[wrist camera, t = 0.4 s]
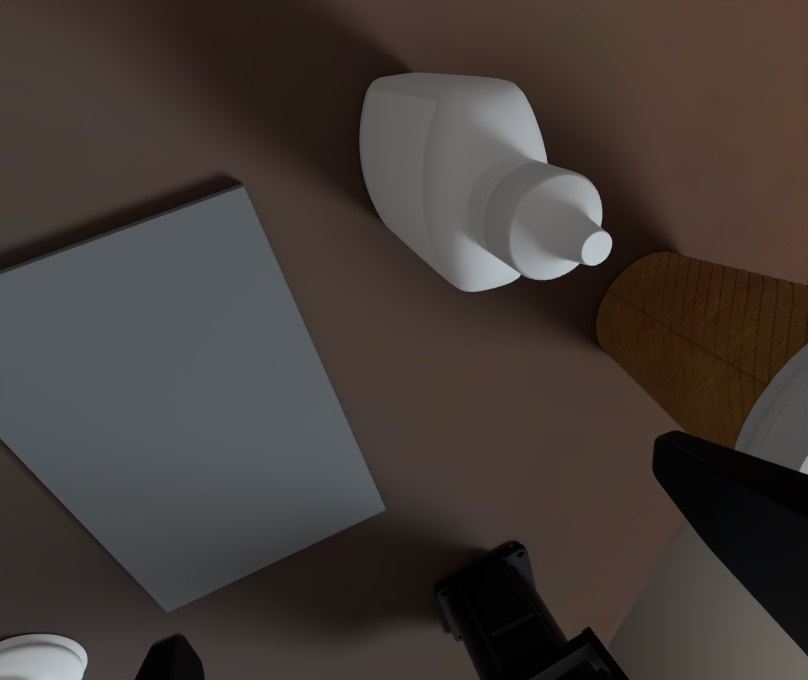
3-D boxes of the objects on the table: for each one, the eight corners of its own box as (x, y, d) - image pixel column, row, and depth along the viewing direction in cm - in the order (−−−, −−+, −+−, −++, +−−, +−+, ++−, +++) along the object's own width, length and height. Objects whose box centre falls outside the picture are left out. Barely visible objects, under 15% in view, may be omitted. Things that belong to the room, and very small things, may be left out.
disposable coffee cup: (734, 304, 30) (995, 425, 20) (608, 410, 31) (801, 577, 21) (689, 179, 25) (1010, 258, 15) (539, 309, 26) (751, 468, 16)
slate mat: (382, 501, 28) (386, 509, 28) (168, 602, 27) (167, 613, 26) (242, 183, 19) (244, 186, 18) (-107, 308, 17) (-117, 316, 17)
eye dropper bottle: (325, 206, 20) (446, 352, 10) (375, 53, 18) (584, 46, 8) (423, 238, 22) (605, 387, 12) (476, 102, 20) (745, 145, 10)
